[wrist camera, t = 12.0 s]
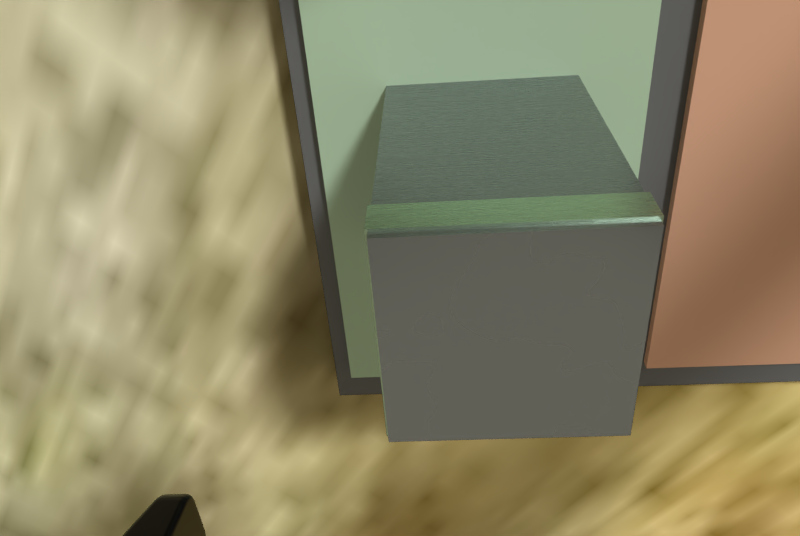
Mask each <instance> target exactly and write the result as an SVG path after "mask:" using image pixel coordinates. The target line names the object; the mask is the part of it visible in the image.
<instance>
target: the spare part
mask: <svg viewBox="0 0 800 536" xmlns="http://www.w3.org/2000/svg"><path fill="white" fill-rule="evenodd" d="M663 220H664V215H663V213H662V212H661V210H660V208H659V206H658V205H657V203H656V201H655V199H654V198H653V196H652V194H651V193H650V192H645V191H644V189H643V188H642V186H641V184H640V182H639V181H638V179H637V177H636V175H635V174H634V172H633V170H632V168H631V167H630V165H629V163H628V161H627V160H626V158H625V156H624V154H623V153H622V151H621V149H620V147H619V145H618V144H617V142H616V140H615V138H614V137H613V135H612V133H611V131H610V130H609V128H608V126H607V124H606V123H605V121H604V119H603V117H602V116H601V114H600V112H599V110H598V109H597V107H596V105H595V103H594V102H593V100H592V98H591V96H590V94H589V93H588V91H587V89H586V87H585V86H584V84H583V82H582V80H581V79H580V77H579V75H569V76H551V77H533V78H516V79H498V80H480V81H463V82H445V83H428V84H410V85H392V86H386V92H385V100H384V108H383V115H382V123H381V131H380V139H379V147H378V154H377V162H376V170H375V178H374V186H373V194H372V201H371V205H367V212H366V219H365V227H364V233H365V242H366V251H367V260H368V269H369V278H370V287H371V296H372V305H373V315H374V324H375V333H376V342H377V351H378V360H379V369H380V378H381V387H382V396H383V405H384V414H385V423H386V433H387V436H388V439H389V442H401V441H439V440H476V439H514V438H552V437H589V436H627V435H630V434H631V428H632V422H633V416H634V410H635V403H636V397H637V391H638V385H639V378H640V372H641V366H642V360H643V354H644V347H645V341H646V335H647V329H648V322H649V316H650V310H651V304H652V298H653V291H654V285H655V279H656V273H657V266H658V260H659V254H660V248H661V242H662V235H663V229H664V225H663Z"/></svg>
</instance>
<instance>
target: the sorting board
mask: <svg viewBox="0 0 800 536" xmlns="http://www.w3.org/2000/svg"><path fill="white" fill-rule="evenodd" d="M279 5H280V12H281V18H282V25H283V31H284V38H285V44H286V50H287V57H288V63H289V70H290V76H291V83H292V89H293V96H294V102H295V108H296V115H297V121H298V128H299V134H300V141H301V147H302V154H303V160H304V167H305V173H306V179H307V186H308V192H309V199H310V205H311V212H312V218H313V225H314V231H315V237H316V244H317V250H318V257H319V263H320V270H321V276H322V283H323V289H324V295H325V302H326V308H327V315H328V321H329V328H330V334H331V341H332V347H333V353H334V360H335V366H336V373H337V379H338V386H339V392H340V395H361V394H382V387H381V378H380V369H379V360H378V351H377V342H376V333H375V324H374V315H373V305H372V296H371V287H370V278H369V269H368V260H367V251H366V242H365V233H364V227H365V219H366V212H367V205H371V201H372V194H373V186H374V178H375V170H376V162H377V154H378V147H379V139H380V131H381V123H382V115H383V108H384V100H385V92H386V86H392V85H410V84H428V83H445V82H463V81H480V80H498V79H516V78H533V77H551V76H569V75H579V77H580V79H581V80H582V82H583V84H584V86H585V87H586V89H587V91H588V93H589V94H590V96H591V98H592V100H593V102H594V103H595V105H596V107H597V109H598V110H599V112H600V114H601V116H602V117H603V119H604V121H605V123H606V124H607V126H608V128H609V130H610V131H611V133H612V135H613V137H614V138H615V140H616V142H617V144H618V145H619V147H620V149H621V151H622V153H623V154H624V156H625V158H626V160H627V161H628V163H629V165H630V167H631V168H632V170H633V172H634V174H635V175H636V177H637V179H638V181H639V182H640V184H641V186H642V188H643V189H644V191H645V192H650V193H651V194H652V196H653V198H654V199H655V201H656V203H657V205H658V206H659V208H660V210H661V212H662V213H663V215H664V220H663V225H664V229H663V235H662V242H661V248H660V254H659V260H658V266H657V273H656V279H655V285H654V291H653V298H652V304H651V310H650V316H649V322H648V329H647V335H646V341H645V347H644V354H643V360H642V366H641V372H640V378H639V385H638V386H657V385H689V384H722V383H755V382H788V381H800V0H279Z"/></svg>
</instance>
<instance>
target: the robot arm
mask: <svg viewBox="0 0 800 536" xmlns="http://www.w3.org/2000/svg"><path fill="white" fill-rule="evenodd" d="M123 536H206V534H205V530H204V527H203V524H202V521H201V518H200V515H199V512H198V509H197V507H196V504H195V501H194V499H193V497H192V496H190V495H189V494H167V495H162V496H160V497H159V498H157V499H156V500H155V501H154V502H153V503H152V504H151V505H150V506H149V507H148V508H147V510H146V511H145V512H144V513H143V514H142V515H141V516H140V517H139V518H138V519H137V520H136V522H135V523H134V524H133V525H132V526H131V527H130V528H129V529H128V530H127V531H126V532H125V534H124V535H123Z"/></svg>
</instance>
